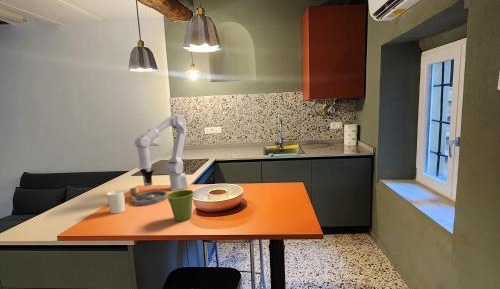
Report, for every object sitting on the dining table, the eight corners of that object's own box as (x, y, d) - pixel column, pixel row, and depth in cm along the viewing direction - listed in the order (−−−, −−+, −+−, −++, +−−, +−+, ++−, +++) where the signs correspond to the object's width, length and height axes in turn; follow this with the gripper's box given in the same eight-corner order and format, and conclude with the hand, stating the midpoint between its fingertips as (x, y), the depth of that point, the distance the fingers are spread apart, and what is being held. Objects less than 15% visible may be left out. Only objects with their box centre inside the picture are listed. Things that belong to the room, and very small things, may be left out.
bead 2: (152, 183, 167) (151, 174, 166) (152, 185, 163) (151, 176, 162) (144, 184, 165) (142, 175, 165) (144, 186, 161) (142, 177, 161)
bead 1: (139, 194, 172) (138, 186, 171) (139, 197, 168) (138, 188, 167) (131, 196, 170) (129, 188, 170) (131, 198, 166) (129, 190, 165)
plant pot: (200, 218, 127) (197, 193, 126) (173, 226, 122) (170, 200, 120) (192, 210, 138) (189, 187, 136) (166, 217, 132) (163, 193, 130)
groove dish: (165, 192, 172) (165, 188, 172) (169, 200, 156) (168, 196, 155) (133, 198, 166) (133, 194, 165) (133, 208, 149) (132, 203, 149)
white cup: (106, 213, 145) (102, 194, 144) (119, 207, 152) (116, 189, 151) (116, 215, 142) (113, 195, 140) (130, 209, 148) (127, 190, 147)
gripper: (134, 158, 166) (138, 181, 168) (139, 161, 154) (143, 186, 156) (147, 155, 170) (150, 178, 172) (153, 158, 157) (156, 183, 159)
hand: (148, 182), depth 164 cm, fingers closed on bead 2, 4 cm apart
